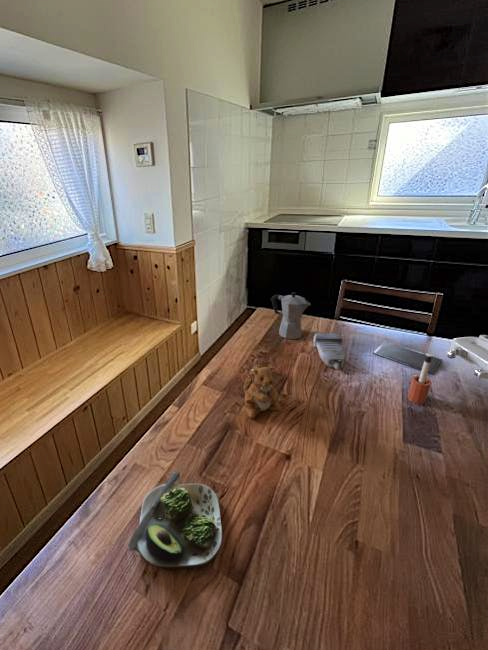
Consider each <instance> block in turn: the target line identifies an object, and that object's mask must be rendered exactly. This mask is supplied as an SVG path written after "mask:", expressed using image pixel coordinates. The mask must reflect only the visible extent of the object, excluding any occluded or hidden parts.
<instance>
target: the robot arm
mask: <svg viewBox="0 0 488 650" xmlns="http://www.w3.org/2000/svg"><path fill="white" fill-rule="evenodd" d="M445 356H446V357H447V358H448V359H450V360H453V359H456V357H460V358H461V359H463V361H464V360H465V361H466V362H468V363H469V364H471V365H472V366H473V367H475V368H476V369H475V371H474V374H473V375H474V376H475V377H477V378H478V379H486V380H488V335H486V334H480V335H479V336H464V337H456V338H453V339H452V340H451V341H450V344H449V350H447V351H446V353H445Z"/></svg>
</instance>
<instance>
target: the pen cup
mask: <svg viewBox="0 0 488 650" xmlns="http://www.w3.org/2000/svg"><path fill="white" fill-rule="evenodd" d="M419 378H420V375H414V376H412V378H411V381H410V384H409V389H408V393H407V399H408V400H409V401H410V402H412V403H413V404H417V405H423V404H426V402H427V399H428V397H429V393H430V391H431V387H432V385H433V384H432V381H431V379H429V378H428V377H426V379H425V383H424V384H421V383H419V382H418V381H419Z"/></svg>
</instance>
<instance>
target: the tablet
mask: <svg viewBox="0 0 488 650" xmlns="http://www.w3.org/2000/svg"><path fill="white" fill-rule="evenodd" d="M426 354H427V353H424V352H420V351H418V350H414V349H411V348H408V347H406V346H402V345H399V344H396V343H393V342H390V341H387V340H384V341H383V342H382V343H381V344H380V345H379V346H377V348H376V349H375V350H374V351H373V352H372V355H375V356H378V357H380V358H384V359H386V360H389V361H392V362H395V363H397V364H399V365H400V364H401V365H403V366H406V367H409V368H412V369H415V370H417V371H420V372H421V371H422V367H423V364H424V360H425V357H426ZM442 362H443V359H442V358H439V357H436V356H434V355H433V356H432V360H431V363H430V366H429V369H428V373H427V375H428V374H429V375H431V376H433V375H434V374H435V373H436V371H437V370H438V368H439V367H440V365H441V364H442Z"/></svg>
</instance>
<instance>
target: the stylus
mask: <svg viewBox="0 0 488 650" xmlns="http://www.w3.org/2000/svg"><path fill="white" fill-rule="evenodd" d="M425 354H426V357H425V360H424V364H423V367H422V371H420V374H419V376H420V378H419V381H418V382H419V383H421V384H424V383H425V379H426V378H427V376H428V369H429V366H430V363H431V360H432V356H433V357H434V355H433V354H432V353H430V352H429V353H428V352H427V353H425Z"/></svg>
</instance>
